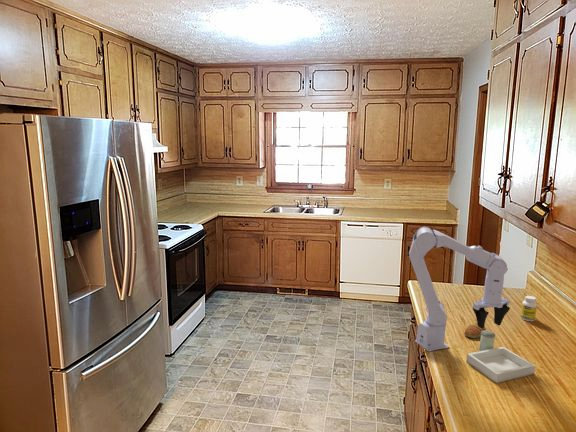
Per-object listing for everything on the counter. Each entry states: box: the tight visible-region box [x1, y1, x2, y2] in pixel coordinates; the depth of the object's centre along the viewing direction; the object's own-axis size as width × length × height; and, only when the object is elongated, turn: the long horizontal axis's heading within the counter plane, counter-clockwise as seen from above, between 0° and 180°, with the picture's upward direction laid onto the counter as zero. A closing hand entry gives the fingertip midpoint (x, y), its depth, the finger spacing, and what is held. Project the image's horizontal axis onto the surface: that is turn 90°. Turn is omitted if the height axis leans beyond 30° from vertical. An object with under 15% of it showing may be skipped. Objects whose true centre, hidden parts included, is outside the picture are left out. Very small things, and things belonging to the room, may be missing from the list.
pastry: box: [464, 322, 487, 339], centre depth 162 cm, size 9×7×4 cm
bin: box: [465, 346, 536, 384], centre depth 139 cm, size 16×13×3 cm
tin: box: [478, 329, 496, 352], centre depth 149 cm, size 5×5×7 cm
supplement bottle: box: [520, 295, 538, 322], centre depth 176 cm, size 5×5×10 cm
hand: (488, 325), depth 148 cm, fingers open, 7 cm apart
